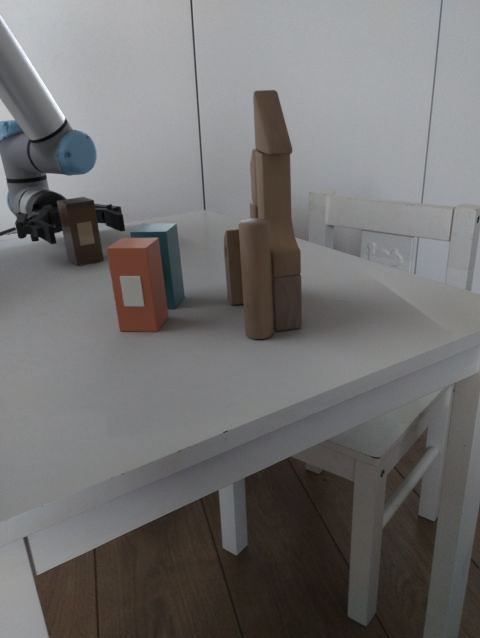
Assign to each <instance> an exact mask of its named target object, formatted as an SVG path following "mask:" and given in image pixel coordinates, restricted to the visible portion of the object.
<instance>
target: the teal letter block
mask: <svg viewBox="0 0 480 638" xmlns="http://www.w3.org/2000/svg"><path fill="white" fill-rule="evenodd" d="M129 234H130V238H159V244H160V253H161V261H162V269H163V277H164V285H165V293H166V301H167V309H168V310H175V309H177V308H178V306H180V303H181V302H182V301H183V300H184V298H185V288H184V278H183V277H184V276H183V268H182V260H181V249H180V242H179V241H180V240H179V231H178V224H177V222H164V223H163V222H160V223H156V222H155V223H154V222H153V223H151V222H150V223H142V224H140V225H139V226H137V227H135V228H134V229H133V230H130V231H129Z"/></svg>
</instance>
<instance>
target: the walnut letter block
mask: <svg viewBox="0 0 480 638" xmlns="http://www.w3.org/2000/svg"><path fill="white" fill-rule="evenodd" d="M95 204H96V203H95V200H94V199H91V198H88V197H85V196H79V197H73V198H66V199H65V200H58V201H57V205H58V210H59V215H60V220H61V226H62V231H61V232H62V236H63V240H64V241H63V242H64V246H65V250H66V256H67V260H68V261H69V262H70V263H72V264H74V265H75V266H76V267H77V266H84V265H88V264H94V263H98V262H102V261H103V262H104V260H105V259H104V252H103V246H102V241H101V235H100V228H99V223H98V222H97V216H96V210H95Z"/></svg>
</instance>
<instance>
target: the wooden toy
mask: <svg viewBox="0 0 480 638" xmlns="http://www.w3.org/2000/svg"><path fill="white" fill-rule="evenodd" d="M252 101H253V103H252V104H253V122H254V123H253V125H254V146H255V147H254V148H253V149H252V151H251V155H250V162H249V170H250V171H249V173H250V188H251V189H250V190H251V201H250V202H249V213H250V214H249V217H250V218H246V219H243V220H240V221H239V223H238V228H236V229H235V228H234V229H227V230H225V232H224V236H223V254H224V255H223V257H224V268H225V270H224V271H225V281H226V294H227V295H226V296H227V300H228V301H229V302H230V304H231V306H236V305H237V306H238V305H243V319H244V332H245V335H246V337H247V338H249V339H252V340H264V339H267V338H270V337H272V336H273V334H274V331H275V332H283V331H291V330H297V329H298V330H299V329H302V328H303V308H302V307H303V306H302V305H303V304H302V303H303V302H302V301H303V300H302V265H301V264H302V262H301V259H302V258H301V255H302V254H301V253H302V252H301V249H300V247H299V244H298V241H297V239H296V236H295V231H294V225H293V215H292V175H291V174H292V172H291V168H292V167H291V155H292V153H293V145H292V141H291V139H290V135H289V131H288V128H287V123H286V119H285V116H284V112H283V107H282V105H281V101H280V97H279V94H278V91H277V90H275V89H265V90H264V89H261V90H254V91H253V96H252Z"/></svg>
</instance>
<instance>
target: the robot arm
mask: <svg viewBox="0 0 480 638" xmlns="http://www.w3.org/2000/svg"><path fill="white" fill-rule="evenodd" d="M0 101H1V103H2V104H3V105H4V107H5V108H6V109H7V111H8V112H9V113H10V115H11V116H12V117H13V119H9V120H1V121H0V159H1V162H2V163H1V164H2V167H3V171H4V174H5V179H6V186H7V190H8V191H7V195H6V204H7V207H8V209H9V211H10V212H11V214H13V215H14V216H15V217H16V220H15V222H14V225H15V226H13V227H11V228H8V229H5V230H2V231H0V237H1V236H4V235H7V234H10V233H12V232H15V231H16V234H17V238H18V239H25V238H27V236H28V235H29V236H30V239H31V242H33V243H34V242H39V241H40V239H42V240H44V241H45V242H47V243H49V244H50V245H55V244H57V240H56V234H58V233H61V232H63V231H62V226H61V220H60V215H59V210H58V205H57V201H58V200H65V199H67V198H66V196H64V194H63V195H62V194H61V193H59V192H56V191H53V190H52V189H50V187H49V183H48V177H47V176H48V175H47V174H52V175H53V174H54V175H65V176H69V177H70V176H71V177H72V176H82V175H86V174H88V173H90V171H92V170H93V169H94V167H95V166H96V162H97V158H98V150H97V148H96V147H97V146H96V144H95V141H94V140H93V138H92V137H91V136H90V135H89V134H87V133H86V132H84V131H81V130H77V129H73V127H72V125H71V124H70V122H69V121H68V120H67V118H66V116H65V114H64V113H63V111H62V110H61V108H60V106H59V105H58V104H57V102H56V100H55V99H54V97H53V95H52V94H51V92H50V90H49V89H48V87H47V86H46V84H45V83H44V81H43V79H42V78H41V76H40V75H39V73H38V71H37V70H36V68H35V66H34V65H33V63H32V61H31V60H30V58H29V57H28V56H27V54H26V52H25V51H24V49H23V47H22V45H21V44H20V43H19V41H18V40H17V38H16V36H15V34H14V33H13V31H12V30H11V28H10V26H9V25H8V23H7V22H6V20H5V19H4V17H3V15H2V14H1V13H0ZM94 204H95V210H96V216H97V222H98V224H105V226H107V227H109V228H111V229H113V230H116V231H118V232H125V231H126V226H125V219H124V214H123V210H122V206H120V205H113V203H109V204H101V203H94Z"/></svg>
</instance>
